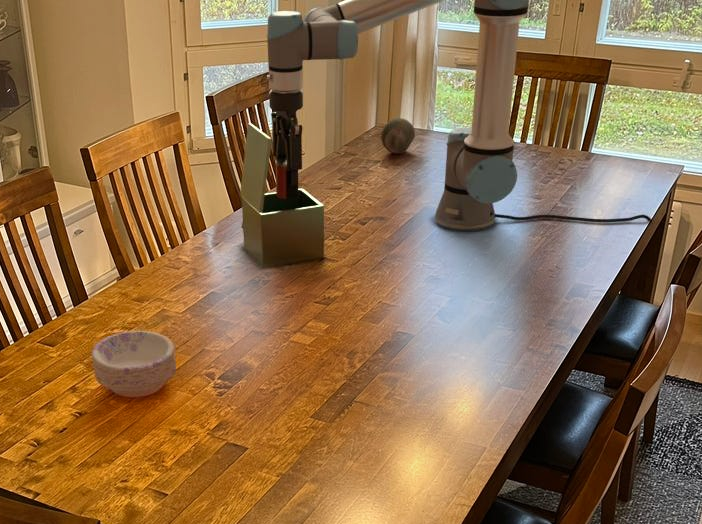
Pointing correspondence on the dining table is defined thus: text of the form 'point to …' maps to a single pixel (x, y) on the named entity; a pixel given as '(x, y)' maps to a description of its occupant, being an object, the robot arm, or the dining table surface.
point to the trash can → (284, 230)
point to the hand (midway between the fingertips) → (287, 193)
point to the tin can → (281, 177)
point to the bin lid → (255, 167)
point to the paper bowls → (134, 362)
